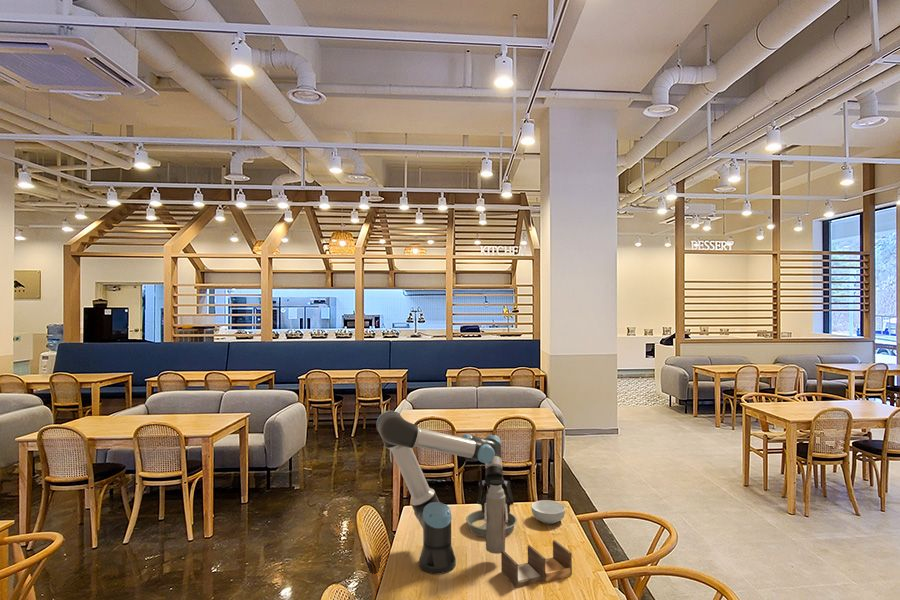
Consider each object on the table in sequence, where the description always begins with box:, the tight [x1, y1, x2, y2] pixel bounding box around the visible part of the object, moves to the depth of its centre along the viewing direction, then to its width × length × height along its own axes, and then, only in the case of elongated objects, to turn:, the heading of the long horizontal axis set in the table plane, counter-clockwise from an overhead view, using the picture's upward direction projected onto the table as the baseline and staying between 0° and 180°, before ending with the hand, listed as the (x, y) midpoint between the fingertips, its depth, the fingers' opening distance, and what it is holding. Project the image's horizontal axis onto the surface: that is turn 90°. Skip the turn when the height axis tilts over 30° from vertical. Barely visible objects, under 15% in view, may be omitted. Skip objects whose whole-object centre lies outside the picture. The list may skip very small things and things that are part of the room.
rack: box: [500, 539, 573, 588], centre depth 197 cm, size 25×13×8 cm, turn 111°
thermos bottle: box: [485, 480, 506, 554], centre depth 207 cm, size 8×8×28 cm
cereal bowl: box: [530, 499, 566, 525], centre depth 247 cm, size 17×17×7 cm
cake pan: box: [465, 509, 518, 538], centre depth 240 cm, size 25×25×4 cm
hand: (496, 520), depth 203 cm, fingers closed on thermos bottle, 8 cm apart
